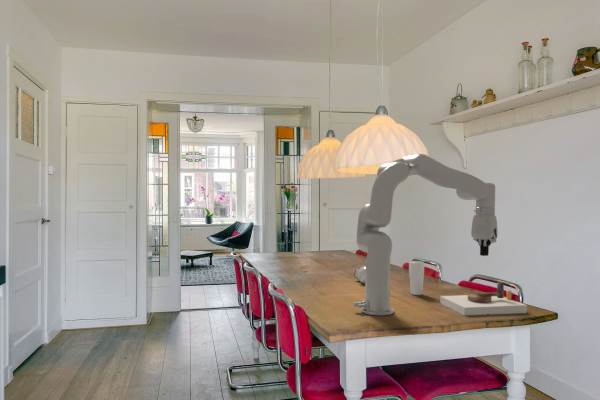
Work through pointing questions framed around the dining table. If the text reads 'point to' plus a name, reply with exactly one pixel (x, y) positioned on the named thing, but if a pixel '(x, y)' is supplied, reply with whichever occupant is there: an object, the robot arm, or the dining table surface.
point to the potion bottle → (360, 274)
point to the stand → (483, 305)
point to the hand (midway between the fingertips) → (484, 255)
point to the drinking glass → (416, 277)
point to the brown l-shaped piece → (488, 294)
